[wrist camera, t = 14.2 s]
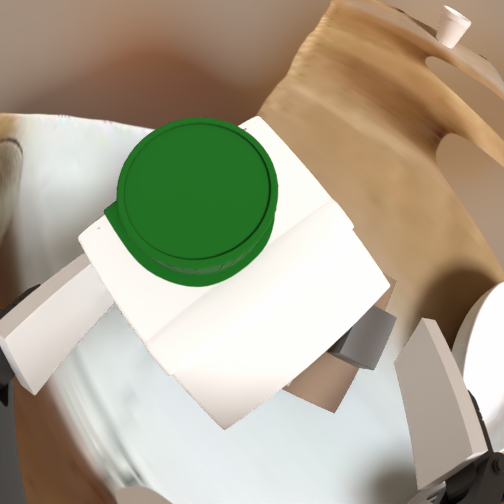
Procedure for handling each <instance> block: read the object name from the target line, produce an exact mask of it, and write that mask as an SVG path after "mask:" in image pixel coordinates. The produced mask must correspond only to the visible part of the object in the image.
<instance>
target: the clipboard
mask: <svg viewBox="0 0 504 504" xmlns="http://www.w3.org/2000/svg"><path fill="white" fill-rule="evenodd" d="M383 275H384V276H385V278H386V279H387V281H388V282H389V284H390V287H389V288H388V289H387V290H386V292H385V293H384V294H383V295H382V296H381V297H380V298H379V299H378V300H377V301H376V302H375V303H374V304H373V305H372V306H371V308H370V309H369V310H368V311H367V312H366V313H365V314H364V315H363V316H362V317H361V318H360V319H359V320H358V321H357V322H356V323H355V324H354V325H353V326H352V327H351V328H350V329H349V330H348V331H347V332H345V333H344V334H343V335H342V336H341V337H340V338H339V339H338V340H337V341H336V342H335V343H334V344H333V345H332V346H331V347H330V348H328V349H327V350H326V351H325V352H324V353H323V354H322V355H321V356H320V357H318V358H317V359H316V360H315V361H314V362H313V363H312V364H310V365H309V366H308V367H307V368H306V369H305V370H303V371H302V372H301V373H300V374H299V375H298V376H296V377H295V378H294V379H293V380H292V381H290V382H289V383H288V384H287V385H285V386H284V387H283V388H282V389H283V390H285V391H287V392H289V393H291V394H293V395H295V396H298V397H300V398H302V399H304V400H306V401H308V402H310V403H312V404H315V405H317V406H319V407H321V408H324V409H326V410H328V411H330V412H333V413H335V412H336V410H337V408H338V407H339V405H340V403H341V401H342V399H343V398H344V396H345V394H346V392H347V390H348V389H349V387H350V385H351V383H352V381H353V379H354V377H355V375H356V373H357V371H358V369H359V368H363V369H370V370H374V369H375V367H376V365H377V363H378V361H379V359H380V356H381V354H382V352H383V350H384V348H385V345H386V343H387V341H388V338H389V336H390V334H391V331H392V329H393V326H394V324H395V321H396V319H397V318H396V317H394V316H393V315H391V314H389V313H387V312H385V310H386V307H387V305H388V302H389V299H390V297H391V294H392V292H393V289H394V286H395V283H396V280H394V279H392V278H391V277H389V276H387V275H386V274H384V273H383Z"/></svg>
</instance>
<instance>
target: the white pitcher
mask: <svg viewBox="0 0 504 504" xmlns="http://www.w3.org/2000/svg"><path fill="white" fill-rule="evenodd" d="M445 486H446V484H444V483H440V484H439V485H437V486H435V487H433V488H428V489H423V490H421V491H420V492H418V493H417V494H416V495H414V496H413V497H412V498H411V499H410V500H409V501H408V502H407V503H406V504H433V503H431V501H432V500H433V499H435V498H436V497H437V496H435V497H433V498H431V499H429V500H427V499H426V498H427V497H428V496H429V495H431V494H432V493H434V492H436V491H438V490H439V489H441V488H443V487H445Z"/></svg>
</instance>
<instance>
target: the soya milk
mask: <svg viewBox="0 0 504 504" xmlns="http://www.w3.org/2000/svg"><path fill="white" fill-rule="evenodd" d="M116 200H117V201H115V202H114V203H113V204H111V205H110V206H109V207H107V208H106V209H105V210H104V215H103V216H102V217H101V218H99V219H98V220H97V221H95V222H94V223H93V224H91V225H90V226H89V227H88V228H86V229H85V230H84V231H83V232H82V233H81V234H80V235H79V237H78V240H79V242H80V244H81V246H82V248H83V250H84V252H85V253H86V255H87V257H88V259H89V261H90V262H91V264H92V266H93V267H94V269H95V271H96V273H97V274H98V276H99V278H100V279H101V281H102V283H103V284H104V286H105V287H106V289H107V291H108V292H109V294H110V295H111V297H112V298H113V300H114V302H115V303H116V305H117V306H118V308H119V309H120V311H121V312H122V314H123V315H124V316H125V318H126V319H127V321H128V322H129V324H130V325H131V326H132V328H133V329H134V331H135V332H136V333H137V335H138V336H139V337H140V339H141V340H142V341H143V343H144V344H145V347H146V348H147V350H148V351H149V353H150V354H151V355H152V357H153V358H154V359H155V361H156V362H157V363H158V364H159V365H160V367H161V368H162V369H163V370H164V371H165V372H166V373H167V374H168V375H171V374H172V375H173V376H174V377H175V379H176V380H177V381H178V382H179V383H180V384H181V385H182V387H183V388H184V389H185V390H186V391H187V392H188V393H189V394H190V396H191V397H192V398H193V399H194V400H195V401H196V402H197V403H198V404H199V405H200V406H201V407H202V408H203V409H204V411H205V412H206V413H207V414H208V415H209V416H210V417H211V418H212V419H213V420H214V421H215V422H216V423H217V424H218V425H219V426H220V427H221V428H223V429H224V430H225V429H227V428H229V427H230V426H232V425H233V424H235V423H236V422H237V421H239V420H240V419H242V418H243V417H245V416H246V415H247V414H249V413H250V412H251V411H253V410H254V409H256V408H257V407H258V406H260V405H261V404H262V403H264V402H265V401H266V400H268V399H269V398H270V397H271V396H273V395H274V394H275V393H277V392H278V391H279V390H280V389H282V388H283V387H284V386H285V385H287V384H288V383H289V382H290V381H292V380H293V379H294V378H295V377H296V376H298V375H299V374H300V373H301V372H302V371H303V370H305V369H306V368H307V367H308V366H309V365H310V364H312V363H313V362H314V361H315V360H316V359H317V358H318V357H320V356H321V355H322V354H323V353H324V352H325V351H326V350H327V349H328V348H330V347H331V346H332V345H333V344H334V343H335V342H336V341H337V340H338V339H339V338H340V337H341V336H342V335H343V334H344V333H345V332H347V331H348V330H349V329H350V328H351V327H352V326H353V325H354V324H355V323H356V322H357V321H358V320H359V319H360V318H361V317H362V316H363V315H364V314H365V313H366V312H367V311H368V310H369V309H370V308H371V306H372V305H373V304H374V303H375V302H376V301H377V300H378V299H379V298H380V297H381V296H382V295H383V294H384V293H385V292H386V290H387V289H388V288H389V287H390V284H389V282H388V281H387V279H386V278H385V276H384V275H383V273H382V272H381V270H380V269H379V267H378V266H377V264H376V263H375V261H374V260H373V258H372V257H371V255H370V254H369V252H368V251H367V250H366V248H365V247H364V245H363V244H362V243H361V241H360V240H359V238H358V237H357V236H356V234H355V233H354V231H353V230H352V229H353V227H354V226H353V224H352V222H351V221H350V219H349V218H348V216H347V215H346V214H345V212H344V211H343V210H342V208H341V207H340V206H339V205H338V203H337V202H336V201H334V200H333V199H332V198H331V197H330V196H329V194H328V193H327V192H326V191H325V189H324V188H323V187H322V186H321V184H320V183H319V182H318V181H317V180H316V178H315V177H314V176H313V175H312V174H311V173H310V171H309V170H308V169H307V168H306V167H305V166H304V164H303V163H302V162H301V161H300V160H299V159H298V157H297V156H296V155H295V154H294V153H293V152H292V151H291V150H290V148H289V147H288V146H287V145H286V144H285V143H284V142H283V141H282V140H281V139H280V137H279V136H278V135H277V134H276V133H275V132H274V131H273V130H272V129H271V128H270V127H269V126H268V125H267V124H266V123H265V122H264V121H263V119H262V118H261V117H259V116H256V117H253V118H251V119H249V120H247V121H246V122H244V123H242V124H241V125H239V126H236V125H234V124H232V123H229V122H226V121H222V120H219V119H214V118H204V117H201V118H200V117H197V118H187V119H182V120H177V121H174V122H171V123H168V124H166V125H163V126H161V127H159V128H158V129H156V130H154V131H153V132H151V133H150V134H148V135H147V136H146V137H145V138H143V139H142V140H141V141H140V142H139V143H138V144H137V145H136V147H135V148H134V149H133V150H132V152H131V153H130V154H129V156H128V158H127V159H126V161H125V163H124V165H123V167H122V170H121V173H120V176H119V180H118V186H117V199H116Z"/></svg>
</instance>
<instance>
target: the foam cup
mask: <svg viewBox="0 0 504 504" xmlns="http://www.w3.org/2000/svg"><path fill="white" fill-rule="evenodd" d="M470 24H471V22H470V21H469V20H468V19H467V18H465V17H464V16H463V15H461V14H460V13H458V12H457V11H455V10H453V9H451V8H450V7H447V6H444V7H443V9H442V14H441V19H440V23H439V27H438V30H437V34H436V39H437V40H438V41H439V42H441V43H442V44H443V45H445V46H447V47H449V48H453V47H454V46H455V44H456V43H457V42H458V40H459V39H460V38H461V36H462V35H463V34H464V32H465V31H466V30H467V28H469V26H470Z"/></svg>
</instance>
